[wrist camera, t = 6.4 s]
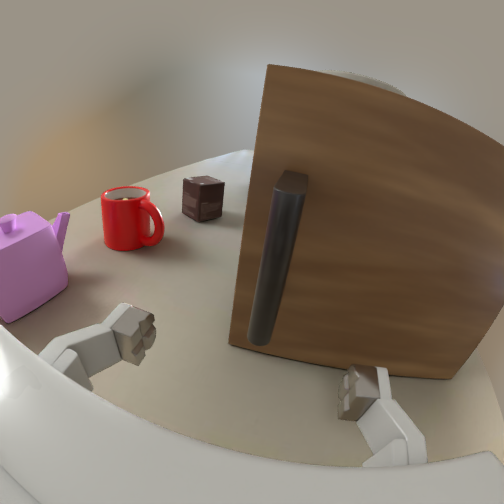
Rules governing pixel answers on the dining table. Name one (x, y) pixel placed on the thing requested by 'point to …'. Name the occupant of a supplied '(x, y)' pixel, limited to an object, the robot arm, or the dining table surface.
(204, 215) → the box
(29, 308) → the teapot
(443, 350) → the cupboard door
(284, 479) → the robot arm
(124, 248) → the mug
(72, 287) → the dining table surface
